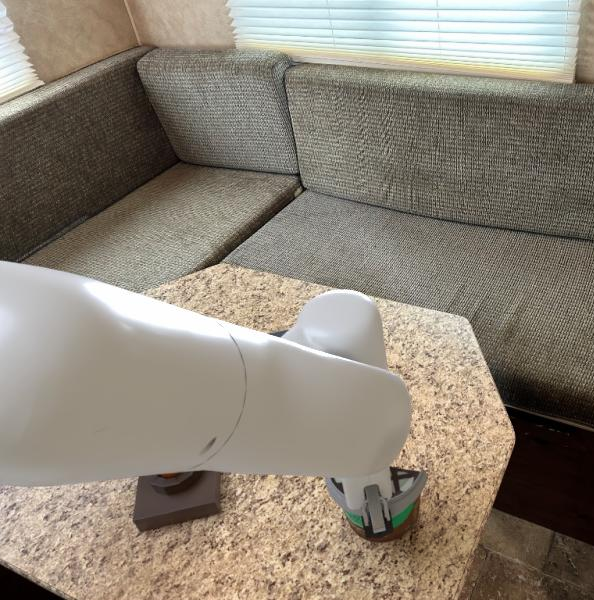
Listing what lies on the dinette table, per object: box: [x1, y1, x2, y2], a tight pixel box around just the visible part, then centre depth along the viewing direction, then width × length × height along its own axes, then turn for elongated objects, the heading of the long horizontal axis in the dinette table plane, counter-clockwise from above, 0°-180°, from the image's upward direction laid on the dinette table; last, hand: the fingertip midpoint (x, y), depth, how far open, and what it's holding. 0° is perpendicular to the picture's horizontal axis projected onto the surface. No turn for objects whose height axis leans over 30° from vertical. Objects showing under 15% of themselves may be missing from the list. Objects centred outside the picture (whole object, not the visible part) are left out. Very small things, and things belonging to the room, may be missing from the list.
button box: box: [132, 470, 222, 533], centre depth 80 cm, size 12×10×4 cm
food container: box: [324, 465, 429, 543], centre depth 71 cm, size 12×6×10 cm, turn 76°
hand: (372, 501), depth 71 cm, fingers closed on food container, 7 cm apart
